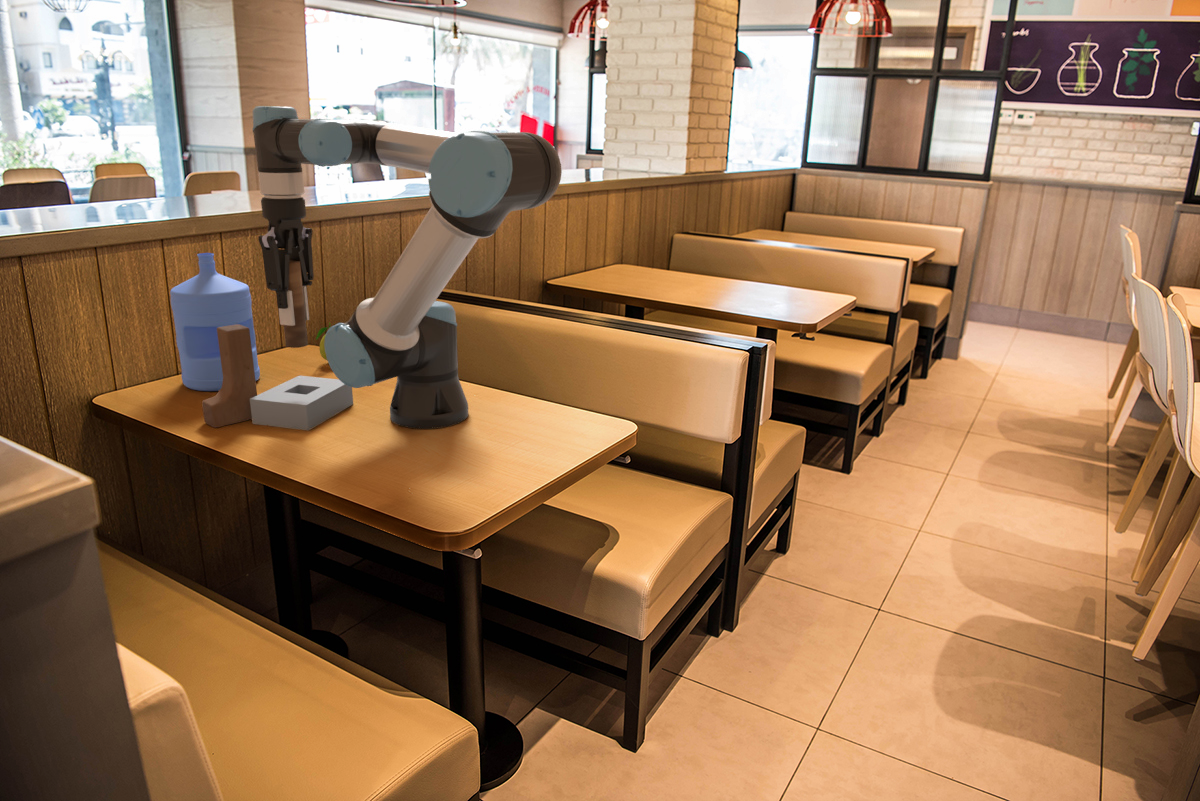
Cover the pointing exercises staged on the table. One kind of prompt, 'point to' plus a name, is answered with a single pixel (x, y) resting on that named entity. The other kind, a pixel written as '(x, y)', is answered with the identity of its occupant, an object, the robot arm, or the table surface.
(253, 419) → the socket board
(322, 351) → the lemon
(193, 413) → the table surface
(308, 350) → the table surface
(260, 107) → the robot arm
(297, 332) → the pin
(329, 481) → the table surface
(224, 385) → the brown boot
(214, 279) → the water jug
